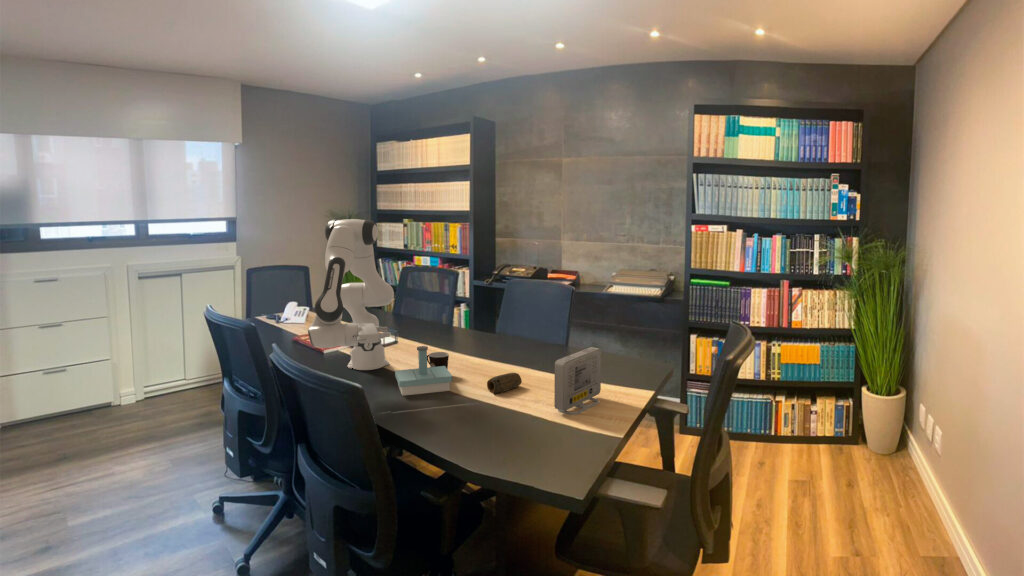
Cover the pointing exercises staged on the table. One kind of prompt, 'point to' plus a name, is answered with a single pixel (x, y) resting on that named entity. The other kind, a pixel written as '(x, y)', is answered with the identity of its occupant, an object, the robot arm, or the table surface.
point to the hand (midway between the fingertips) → (388, 331)
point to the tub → (425, 388)
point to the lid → (423, 372)
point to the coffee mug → (438, 359)
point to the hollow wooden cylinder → (503, 382)
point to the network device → (577, 380)
